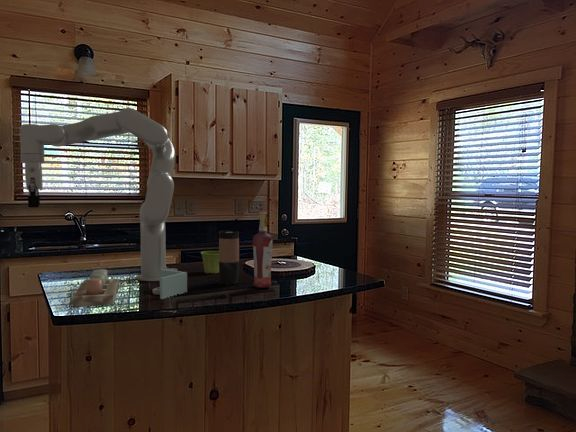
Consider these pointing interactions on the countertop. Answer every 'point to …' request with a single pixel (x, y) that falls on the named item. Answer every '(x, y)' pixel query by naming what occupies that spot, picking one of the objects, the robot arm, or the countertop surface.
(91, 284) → the brown egg
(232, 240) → the travel mug
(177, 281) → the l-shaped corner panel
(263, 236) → the liquor
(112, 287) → the wooden rectangular frame
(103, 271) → the beige egg
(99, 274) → the pale green egg
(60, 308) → the countertop surface
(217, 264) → the plant pot
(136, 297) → the countertop surface
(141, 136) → the robot arm
